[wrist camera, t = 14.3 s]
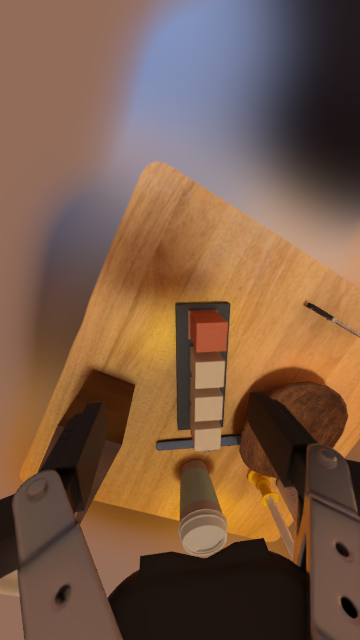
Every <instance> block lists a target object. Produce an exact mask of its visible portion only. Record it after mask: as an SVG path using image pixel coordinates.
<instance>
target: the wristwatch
mask: <svg viewBox="0 0 360 640" xmlns="http://www.w3.org/2000/svg"><path fill="white" fill-rule="evenodd" d="M240 443H241V436H228V437H221V442H220V446H231V445H240ZM171 445H172V446H171ZM188 448H194V446H193V440H192V439H190V440H179V441H167V442H158V443H157V444H156V449H157V450H173V449H188ZM209 451H211V450H205V451H201V452H209Z"/></svg>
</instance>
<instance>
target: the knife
mask: <svg viewBox="0 0 360 640" xmlns="http://www.w3.org/2000/svg"><path fill="white" fill-rule="evenodd" d="M306 307H308V308H310V309H312V310H313V311H315V312H317V313H318V314H320V315H322V316H324V317H325V318H327V320H330V321H333V322H335V323H336V324H338V325H340V326H341V327H343V328H345V329H346V330H348V331H350V332H351V333H353V334H355V335H356V336H358V337H360V334H359V333H357V332H356V331H354V330H352V329H351V328H349V327H348V326H346V325H344V324H343V323H341V322H339V321H338V320H336V318H335V317H333V316H331V315H330V314H328V313H326V312H325V311H323V310H322V309H320V308H318V307H317V306H315V305H313V304H311V303H308V305H307V306H306Z"/></svg>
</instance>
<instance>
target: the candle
mask: <svg viewBox="0 0 360 640" xmlns="http://www.w3.org/2000/svg"><path fill="white" fill-rule="evenodd" d="M247 477H248V480H249V482H250V483H252V484H255V485H256V488H257V489H258V490H260V491H261V494H262V495H263V497H262V499H261V504H262V505H263V506H265V507H269V509H270V511H271V514H272V516H273V518H274V521H275V523H276V525H277V527H278V530H279V532H280V534H281V536H282V539H283V541H284V543H285V546H286V548H287V550H288V552H289V554H290V557H291V559H292V560H293V553H294V541H293V539H292V537H291V534H290V532H289V530H288V528H287V526H286V524H285V521H284V519H283V517H282V515H281V513H280V511H279V509H278V506H277V504H276V503H277V502H278V501H279V496H278V495H277V494H276V493H272V491H271V488H270V487H269V486H270V481H269V480H268V479H269V477H268V476H263V475H261V474H259V473H256V472H254V471H252V470H250V471H249V472H248V475H247Z"/></svg>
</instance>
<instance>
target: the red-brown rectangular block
mask: <svg viewBox="0 0 360 640" xmlns="http://www.w3.org/2000/svg"><path fill="white" fill-rule="evenodd" d="M227 329H228V322H227V321H226V320H225V319H224V318H223V317H222V316H220V315H219V314H218V313H217V312H202V313H191V340H192V343H193V345H194V348H195V351H196V353H198V352H220V351H226V346H227Z"/></svg>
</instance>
